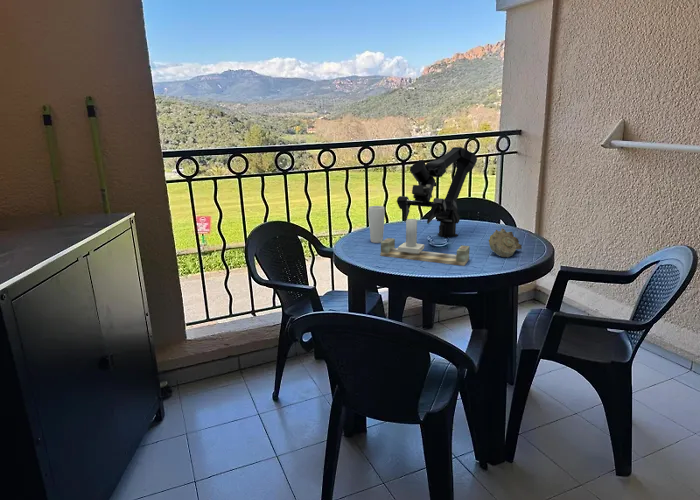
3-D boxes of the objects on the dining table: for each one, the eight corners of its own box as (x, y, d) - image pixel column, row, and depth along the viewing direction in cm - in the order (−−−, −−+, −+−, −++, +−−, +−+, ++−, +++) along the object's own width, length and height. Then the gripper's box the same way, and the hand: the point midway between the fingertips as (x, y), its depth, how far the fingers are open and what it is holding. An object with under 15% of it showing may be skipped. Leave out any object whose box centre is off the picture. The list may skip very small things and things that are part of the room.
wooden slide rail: (380, 255, 168) (380, 242, 166) (388, 250, 175) (388, 236, 173) (464, 265, 154) (465, 250, 152) (469, 259, 161) (469, 245, 159)
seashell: (484, 259, 164) (486, 234, 160) (493, 246, 176) (495, 222, 172) (515, 264, 159) (518, 238, 155) (522, 250, 171) (525, 225, 167)
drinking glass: (383, 244, 183) (383, 208, 179) (367, 243, 185) (367, 208, 180) (385, 239, 190) (385, 205, 185) (370, 239, 191) (369, 205, 187)
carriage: (398, 251, 165) (398, 221, 161) (404, 246, 171) (404, 217, 167) (418, 253, 161) (419, 223, 158) (424, 248, 167) (424, 219, 164)
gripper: (398, 175, 172) (387, 208, 166) (445, 177, 164) (436, 212, 157) (405, 192, 181) (395, 224, 175) (449, 195, 173) (441, 228, 166)
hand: (416, 222), depth 168 cm, fingers open, 9 cm apart
